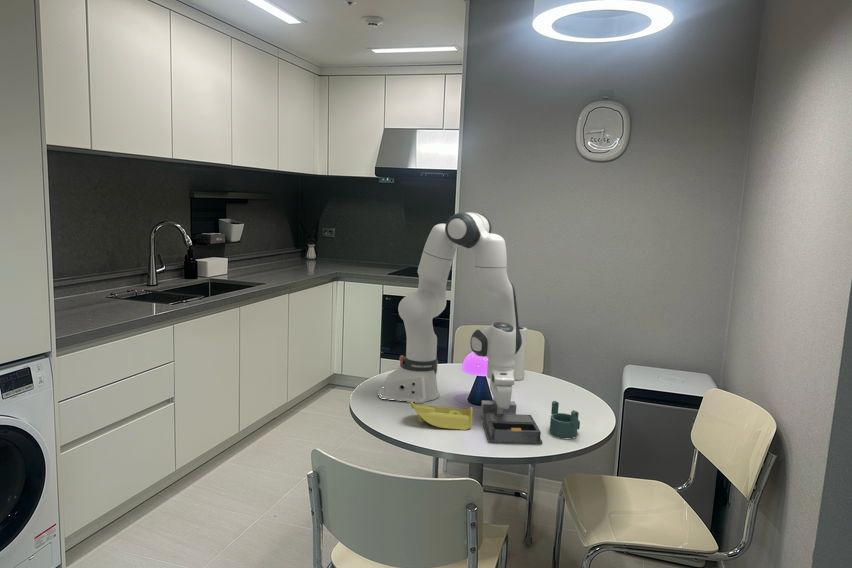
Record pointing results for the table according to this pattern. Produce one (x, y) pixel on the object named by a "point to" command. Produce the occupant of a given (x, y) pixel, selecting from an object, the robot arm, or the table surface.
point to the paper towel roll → (520, 357)
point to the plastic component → (444, 416)
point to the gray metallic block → (491, 408)
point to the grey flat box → (511, 429)
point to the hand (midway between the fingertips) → (498, 412)
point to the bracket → (563, 423)
